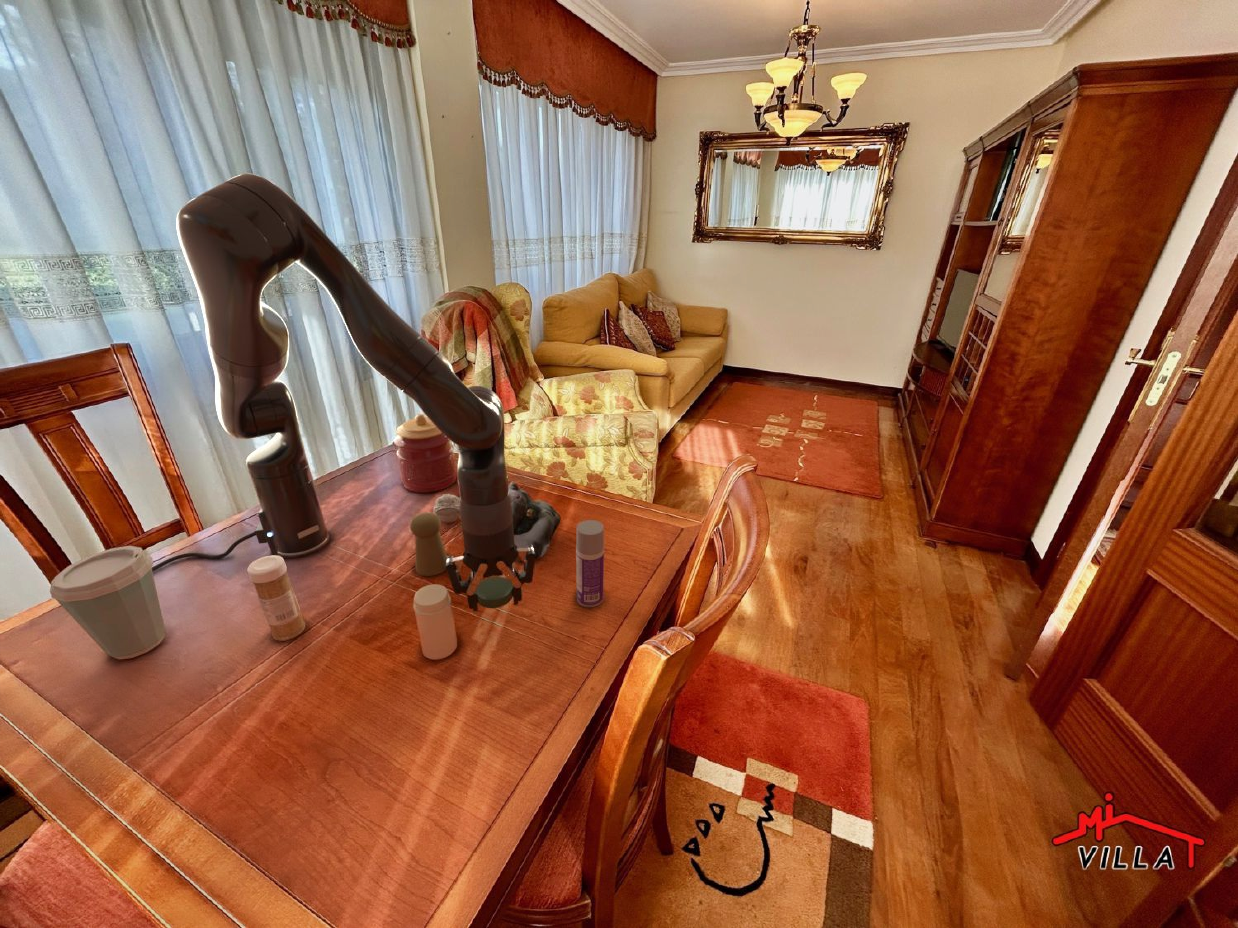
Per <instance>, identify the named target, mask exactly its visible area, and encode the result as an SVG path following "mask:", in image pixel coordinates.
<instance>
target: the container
mask: <svg viewBox="0 0 1238 928" xmlns="http://www.w3.org/2000/svg"><path fill="white" fill-rule="evenodd" d="M575 542H576V543H575V544H576V545H575V567H576V568H575V570H576V571H575V573H576V574H575V575H576V577H575V578H576V579H575V581H576V602H577V603H578V604H579V605H580V606H582V607H583V608H584V607H585V608H595V607H598V606H599V605H601V604H602V602H603V600H604V575H605V526H604V524H603V523H602V522H601V521H599V520H594V519H587V520H582V521H580V522H578V523H577V524H576V541H575Z"/></svg>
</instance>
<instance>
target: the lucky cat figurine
mask: <svg viewBox="0 0 1238 928" xmlns="http://www.w3.org/2000/svg"><path fill="white" fill-rule="evenodd" d="M508 489H509V496H510V500H511V506H512V518H513V531H514V543H515V545H516V546H517V548H526V547H527V545H533V547H534V551H535V560H537V559H539V558H542V557H544V556H545V555H546V553H547V552H548V551H549V549H550V546H551V541H552V538H553V536H554V535H555V532H556V530H557V529H558V527H559V525H560V524H561V520H562V517H561V514H559V513H558V512H557V511H556V509H555V508H554V507H553V506H552V505H551V504H550V503H548V502H546V501H544V500H532V496H531V495H530V494H529V493H527V491H525V490H524V489H521V488H519V486H518V484H517V483H515V482H513V481H512V482H509V484H508ZM515 561H519V562H523V561H522V558H521V557H520V556H518V557H517V558H516V560H515Z"/></svg>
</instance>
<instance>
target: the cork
mask: <svg viewBox="0 0 1238 928" xmlns="http://www.w3.org/2000/svg"><path fill="white" fill-rule="evenodd" d="M409 525H410V526H409V529H410V531H411V533H412V535H414V551H415V553H414V554H415V555H414V556H415V571H416V573H417V574H419V575H421V576H426V577H431V576H436V575H439V574H441V573H443V572H445V571H446V557H447V556H448V555H447V551H446V548H445V545H444V541H443V539H442V536H441V533H440V530H441V527H442V520H440V519H439V517H438V516H437V515H436V514H435V513H434V512H428V511H427V512H421V513H418V514H416V515H414V516H413V518H412V519H411V521H410V524H409Z"/></svg>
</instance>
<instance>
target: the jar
mask: <svg viewBox="0 0 1238 928" xmlns="http://www.w3.org/2000/svg"><path fill="white" fill-rule="evenodd" d="M412 607H413V612H414V617H415V622H416V627H417V631H418V632H417V633H418V636H419V642H420V646H421V651H422V652H421V653H422V655H423V656H424V657H425V658H426V659H429V660H435V661H437V660H442V659H445V658H447V657H449V656H450V655H452V654H453V653H454V652H455V651H456V649H457V647H458V637H457V630H456V629H457V628H456V625H455V623H456V622H455V618H454V612H453V611H454V609H453V604H452V598H451V595H450V594H449V590H448V588H447V587H446V586H444V585H442V584H440V583H439V584H438V583H437V584H436V583H434V584H427V585H424V586H423V587H421V588H419V589H417V591H416V592H415V594H414V596H413V605H412Z"/></svg>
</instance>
